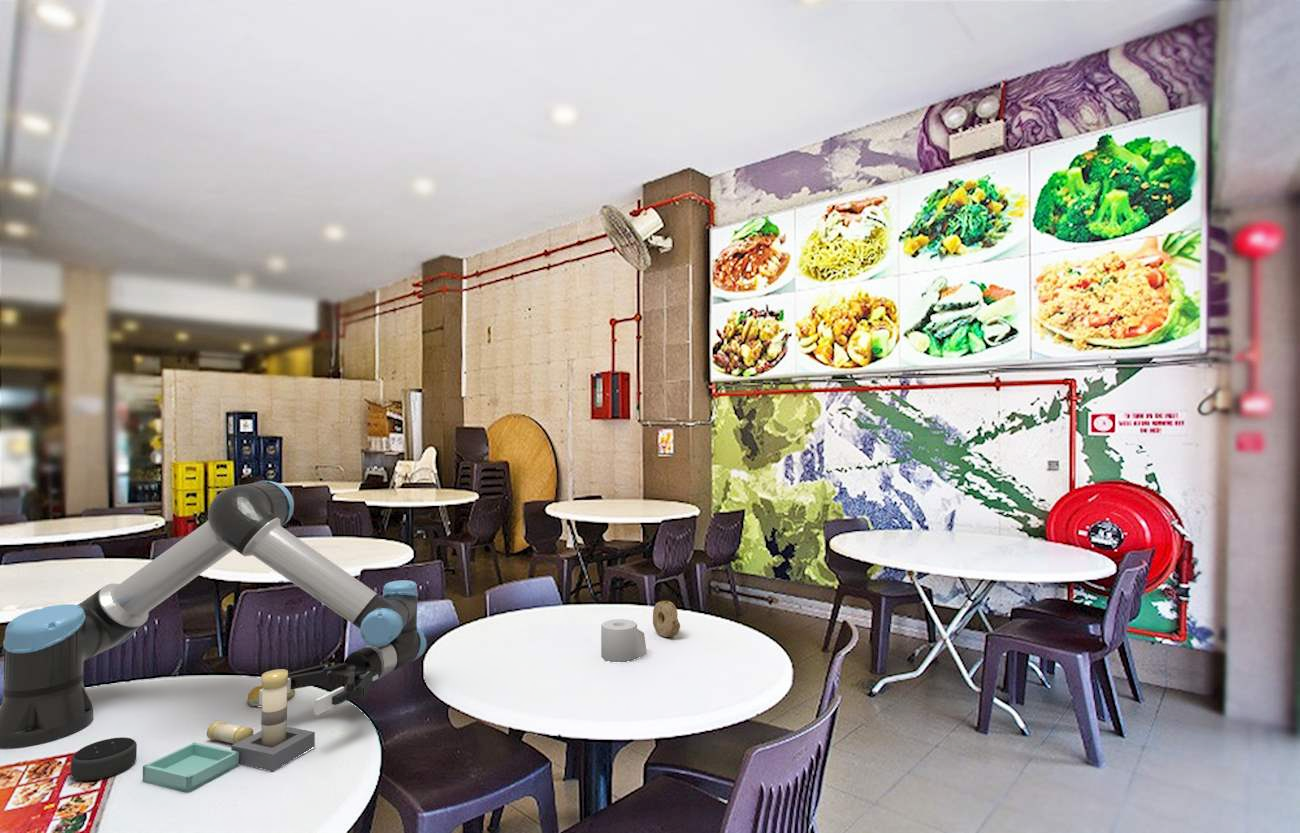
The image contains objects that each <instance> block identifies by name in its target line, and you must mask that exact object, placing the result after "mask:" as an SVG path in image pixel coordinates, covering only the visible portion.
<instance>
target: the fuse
mask: <svg viewBox="0 0 1300 833" xmlns="http://www.w3.org/2000/svg"><path fill="white" fill-rule="evenodd" d="M254 734H255V733H254V729H253V727H251V726H246V725H242V726H240V725H235V724H231V723H227V722H226V721H222V720H216V721H213V722H211V723H210V725H209V726H208V728H207V730H206V736H207V738H208V739H211V740H215V741H220V742H225V743H229V744H232V745H233V744H235V743H237V742H239V741H241V740H244V739H246V738H248V737H250V736H252V735H254Z"/></svg>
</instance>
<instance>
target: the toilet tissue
mask: <svg viewBox="0 0 1300 833" xmlns="http://www.w3.org/2000/svg"><path fill="white" fill-rule="evenodd" d="M600 626H601V631H600V632H601V636H600V637H601V638H600V641H601V646H600V647H601V648H600V650H601V651H600V652H601V653H600V654H601V657H602V658H603V659H604V661H605V662H607V661H610V662H609V663H612V662H627V661H630V662H632V661H631V660H633V661H635V660H634V659H636V660H638V659H637V658H639V657H642V656H644V655H645V654H646V653H647V646H646V645H647V644H646V638H645V633H644V632H643V631H641V630H640V629H639V628H638V623H637V622H635V621H634V620H629V619H625V618H621V619H618V618H617V619H609V620H606V621H603V623H601V625H600ZM647 654H648V653H647ZM647 654H646V655H647ZM646 655H645V656H646ZM645 656H644V657H645ZM602 658H601V659H602ZM642 658H643V657H642ZM603 659H602V660H603ZM639 659H640V658H639ZM627 663H628V662H627Z"/></svg>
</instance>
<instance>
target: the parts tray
mask: <svg viewBox="0 0 1300 833" xmlns="http://www.w3.org/2000/svg"><path fill="white" fill-rule="evenodd" d="M239 766H240V764H239V752H237V751H233V750H231V749H228V748H222V747H219V746H213V745H210V744H205V743H200V742H195V741H194V742H192V743H190V744H188V745H186V746H184V747H181V748H179V749H177V750H175V751H173V752H171V753H168V754H166V755H164V756H161V757H160V758H157V759H156V760H152V761H151V762H149V763H146V764H145V765H143V766H142V782H145V783H148V784H152V785H158V786H161V787H164V788H168V789H173V790H176V791H180V792H184V793H188V794H189V793H191V792H193V791H194V790H196V789H198V788H200V787H202V786H205V785H206V784H208V783H209V782H212V781H213V780H215V779H217V778H220V777H221V776H224V774H227V773H228V772H230V771H232V770H234V769H236V768H237V767H239Z"/></svg>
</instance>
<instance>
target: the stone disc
mask: <svg viewBox="0 0 1300 833" xmlns="http://www.w3.org/2000/svg"><path fill="white" fill-rule="evenodd" d="M678 617H679V616H678V610H677V607H676V606H675V604H674V603H673V602H671V601H670V600H660V601H658V602H656V603H655V605H654V607H653V613H652V624H653V625H652V626H653V629H654V630H655V632H656V633H657V635H659V636H660V637H663V638H669V637H671V638H672V637H675V636H676V635H677V634H678V633H679V631H680V629H681V624H680V622H679V619H678Z"/></svg>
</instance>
